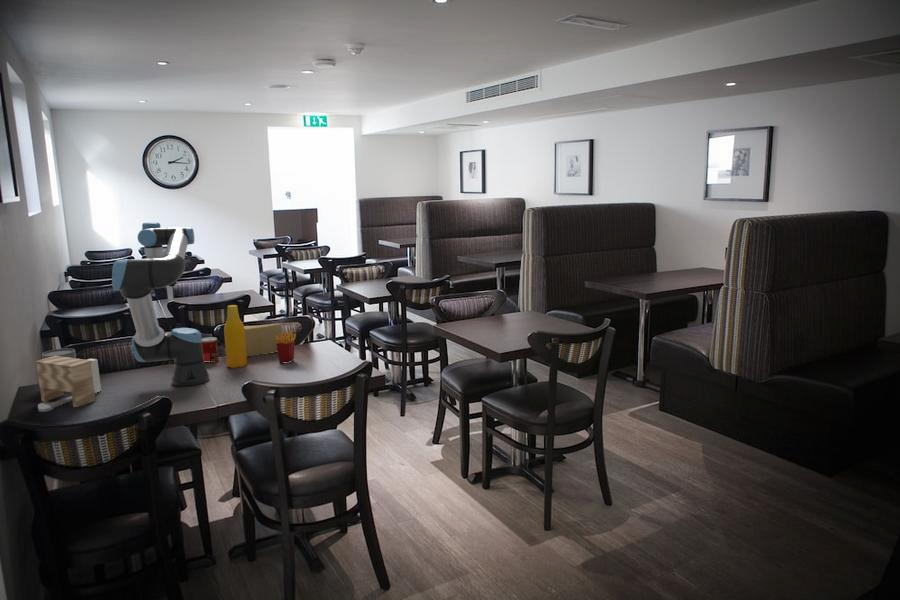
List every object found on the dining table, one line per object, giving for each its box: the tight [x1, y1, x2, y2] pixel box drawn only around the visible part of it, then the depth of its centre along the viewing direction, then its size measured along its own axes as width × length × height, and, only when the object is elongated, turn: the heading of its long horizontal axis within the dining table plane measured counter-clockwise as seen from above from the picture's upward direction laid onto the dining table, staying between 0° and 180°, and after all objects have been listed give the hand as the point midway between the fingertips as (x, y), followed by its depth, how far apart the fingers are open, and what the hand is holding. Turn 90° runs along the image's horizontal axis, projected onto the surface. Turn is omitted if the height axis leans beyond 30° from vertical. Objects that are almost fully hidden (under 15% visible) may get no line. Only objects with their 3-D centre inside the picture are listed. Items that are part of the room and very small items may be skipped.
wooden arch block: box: [52, 358, 102, 409], centre depth 244 cm, size 20×4×14 cm, turn 158°
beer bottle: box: [223, 304, 248, 369], centre depth 287 cm, size 9×9×29 cm
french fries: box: [275, 330, 297, 363], centre depth 294 cm, size 9×8×15 cm
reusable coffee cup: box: [41, 348, 77, 360], centre depth 261 cm, size 13×13×15 cm
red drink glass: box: [201, 336, 220, 362], centre depth 297 cm, size 8×8×11 cm
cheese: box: [244, 323, 284, 358], centre depth 308 cm, size 22×10×15 cm, turn 111°
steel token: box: [37, 401, 55, 413], centre depth 234 cm, size 5×5×2 cm
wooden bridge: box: [34, 356, 96, 408], centre depth 241 cm, size 21×9×17 cm, turn 68°
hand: (159, 302), depth 279 cm, fingers open, 13 cm apart
